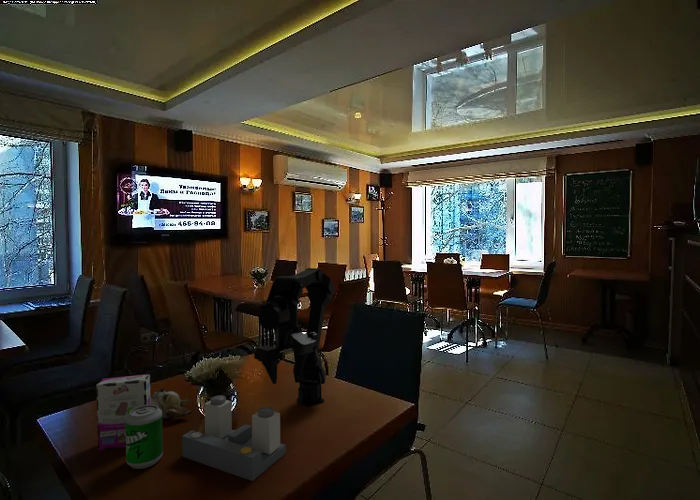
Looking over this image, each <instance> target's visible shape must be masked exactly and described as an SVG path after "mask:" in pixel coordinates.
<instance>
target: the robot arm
mask: <svg viewBox="0 0 700 500" xmlns="http://www.w3.org/2000/svg"><path fill="white" fill-rule="evenodd" d="M304 289H305V290H306V292H307V298H308V301H309V302H310V309H309V314H308V321H307V325H306V326H307V327H306V333H304V332H303V331H302V326H301V325H298V324H299V316H298V315H299V312H298V311H299V310H298V309H299V307H298V306H299V305H300V303H301V301H300V300H299V299H300V297H301V295H303V293H304ZM268 293H269V294H268V296H267V299H266V304H265V307H264V308H263V309H261V311H260V314H259V316H258V321H259V324H260V325H261V327H262V328H263V329H265V330H268V331H271V330H273V331H276V340H273V346H272V345H271V346H270V345H267V344H266V345H262V346H259V347H256V348H255V349H254V351H253V359H255V360H257V362H261V364H262V366H263V367H264V368H265V371H266V372H267V375H268V377H269V379H270V381H271V383H272V384H274V385H276V384H277V380H278V365H279V364H280V363H281V361H282V360H281V359H279V358H280V357H281V354H284V353H287V352H290V351H293V358H294V365H293V369H292V371H293V372H292V373H293V377H294V382H295V383H296V384H297V383H299V385H298V389H297V390H298V393H297V395H298V396H297V398H296V401H297V402H299V403H301V404H302V405H303V406H305V407H311V406H315V405H317V404H320V403H323V402H325V399H324V398H322V385H324V384H326V379H327V373H326V371H325V370H324V367H323V366H322V364H323V360H322V358H321V355H320V353H319V349H320V345H321V338H322V337H321V336H322V331H323V325H324V324H323V323H324V317H325V311H326V307H327V306H328V305H329V304H330V303H331V301H332V298H333V295H334V293H335V284H334V282H333V281H332V278H331V277H330V276H328V275H327V274H326V273H324V271H323V270H322V269H321V268H318V267H317V268H314V267H307V268H305V269H304V270H302V271H301V272H298V273H296V274H293V275H291V276H289V275H288V276H285V275H284V276H283V275H282V276H276V277H275V279H274V281H273V282H272V284H271V287H270V290H269V292H268Z"/></svg>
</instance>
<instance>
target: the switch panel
mask: <svg viewBox="0 0 700 500" xmlns="http://www.w3.org/2000/svg"><path fill="white" fill-rule="evenodd" d="M181 439H182V440H181V447H182V451H181V452H182V453H181V454H182V457H183V458H186V459H188V460H191V461H194V462H196V463H200V464H202V465H205V466H208V467H211V468H214V469H217V470H220V471H222V472H224V473H225V472H226V473H227V474H231V475H233V476H237V477H240V478H242V479H246V480H248V481H251V482H254V481H255V480H256V479H257V478H258V477H259V476H260V475H261V474H263V473H264V472H265V471H266V470H268V469H269V468H270V467H271V466H272V465H273V464H275V463H276V462H277V461H279V459H281V458H282V457H283V456H285V455H286V453H287V452H286V451H287V449H286V448H287V445H286V444H285V443H281V442H280V447H279V448H277V449H276V450H275V451H274V452H272V453H271V454H270V455H269V454H266V453H263V452H261V451H259V450H256V449H253V448H252V425H249V424H244V425H242V426H241V427H239V428H237V429H232V432H231V433H230V434H228V435H227V436H225V437H224V438H222V439H220V438H216V437H213V436H210V435H206V434H205V433H203V432H201V431H196V430H192V429H191V430H190V431H188V432H187V433H184V434H183V435H182V437H181Z"/></svg>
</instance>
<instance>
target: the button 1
mask: <svg viewBox="0 0 700 500" xmlns="http://www.w3.org/2000/svg"><path fill="white" fill-rule="evenodd" d="M232 410H233V409H232V400H228V399H226V396H225V395H215V396H213V397H211V398H210V400H209V401H206V402H205V403H204V434H206V435H210V436H213V437H216V438H220V439H222V438H224V437H225V436H227V435H228V434H230V433H231V432H232V430H233V429H232V427H233V422H232V420H233V419H232V415H233V413H232Z"/></svg>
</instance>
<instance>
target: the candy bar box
mask: <svg viewBox="0 0 700 500" xmlns="http://www.w3.org/2000/svg"><path fill="white" fill-rule="evenodd" d="M95 387H96V388H95V391H96V418H97V419H96V420H97V423H96V424H97V450H98V451H99V452H100V451H109V450H116V449H122V448H126V429H125V419H126V416H127V415H128V414H129V413H130V411H131V410H133V409H135V408H137V407H140V406H145V405H151V375H150V374H149V373H148V374H138V375H129V376H128V375H126V376H117V377H108V378H102V379H101V380H100V381H99V382H98V383H97V384H96V385H95Z"/></svg>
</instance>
